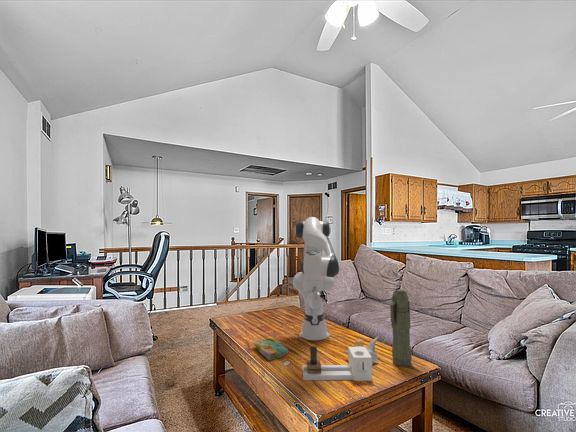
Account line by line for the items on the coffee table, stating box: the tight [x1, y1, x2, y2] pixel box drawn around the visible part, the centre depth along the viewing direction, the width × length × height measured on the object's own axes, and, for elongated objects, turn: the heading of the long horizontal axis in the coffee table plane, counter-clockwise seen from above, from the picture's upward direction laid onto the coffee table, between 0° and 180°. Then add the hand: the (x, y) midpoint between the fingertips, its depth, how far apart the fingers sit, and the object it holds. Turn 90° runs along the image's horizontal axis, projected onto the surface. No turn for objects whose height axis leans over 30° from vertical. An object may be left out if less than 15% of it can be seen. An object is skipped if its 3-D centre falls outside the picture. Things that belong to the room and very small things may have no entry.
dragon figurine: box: [346, 335, 380, 366], centre depth 156 cm, size 15×15×9 cm
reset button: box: [354, 338, 365, 347], centre depth 140 cm, size 4×4×2 cm
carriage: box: [306, 345, 322, 373], centre depth 140 cm, size 7×6×10 cm
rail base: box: [302, 346, 373, 382], centre depth 139 cm, size 13×30×10 cm, turn 89°
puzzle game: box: [252, 337, 289, 361], centre depth 166 cm, size 12×5×20 cm
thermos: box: [390, 289, 412, 368], centre depth 151 cm, size 9×12×35 cm
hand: (313, 316), depth 141 cm, fingers open, 8 cm apart
